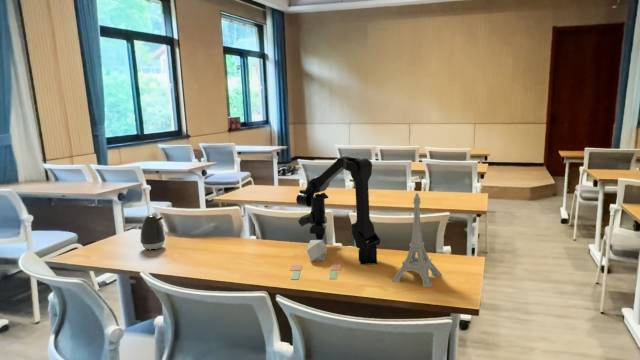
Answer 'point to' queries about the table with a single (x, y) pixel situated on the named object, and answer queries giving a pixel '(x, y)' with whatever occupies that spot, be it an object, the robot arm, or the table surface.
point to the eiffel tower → (422, 261)
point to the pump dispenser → (152, 233)
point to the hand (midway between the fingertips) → (319, 243)
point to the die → (317, 250)
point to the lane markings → (298, 267)
